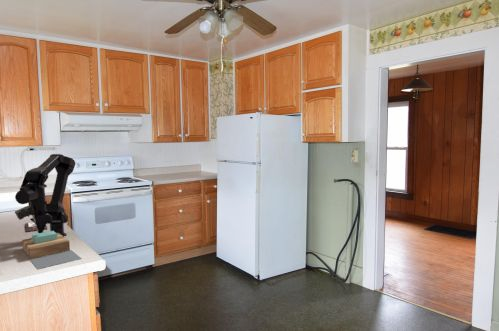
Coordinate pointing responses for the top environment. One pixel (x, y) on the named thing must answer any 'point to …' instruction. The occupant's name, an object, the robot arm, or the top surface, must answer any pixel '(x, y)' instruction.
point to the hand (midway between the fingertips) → (40, 234)
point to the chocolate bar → (32, 227)
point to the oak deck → (45, 247)
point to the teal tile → (44, 237)
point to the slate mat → (54, 259)
